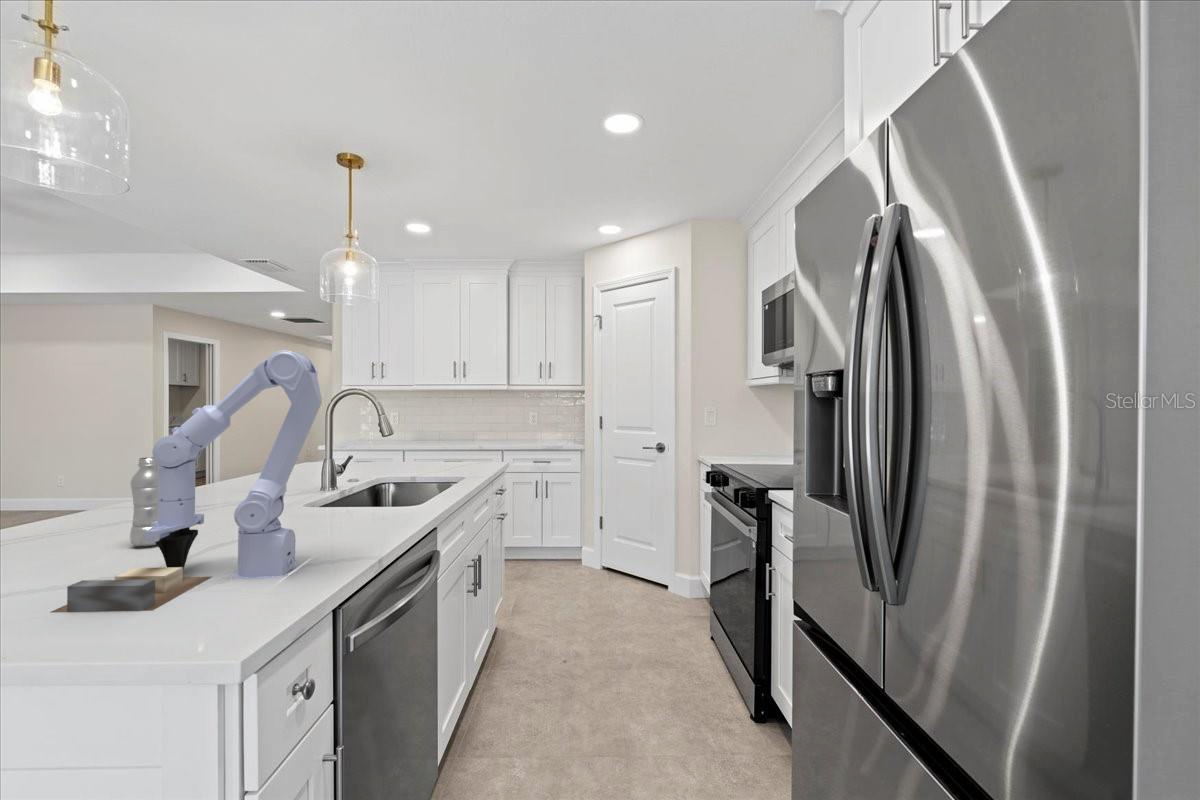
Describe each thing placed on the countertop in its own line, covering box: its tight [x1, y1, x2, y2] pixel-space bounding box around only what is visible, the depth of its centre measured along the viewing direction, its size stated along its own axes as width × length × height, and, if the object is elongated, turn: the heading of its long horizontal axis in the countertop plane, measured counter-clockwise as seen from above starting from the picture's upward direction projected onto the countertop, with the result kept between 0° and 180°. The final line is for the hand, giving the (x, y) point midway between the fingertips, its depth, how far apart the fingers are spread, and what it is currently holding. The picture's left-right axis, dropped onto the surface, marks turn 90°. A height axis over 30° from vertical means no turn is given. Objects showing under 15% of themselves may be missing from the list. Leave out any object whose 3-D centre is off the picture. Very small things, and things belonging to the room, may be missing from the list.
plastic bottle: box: [129, 456, 158, 547], centre depth 131 cm, size 6×7×20 cm
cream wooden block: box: [114, 566, 184, 593], centre depth 102 cm, size 8×5×3 cm, turn 96°
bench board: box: [49, 576, 212, 614], centre depth 99 cm, size 15×17×5 cm
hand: (175, 570), depth 109 cm, fingers closed
